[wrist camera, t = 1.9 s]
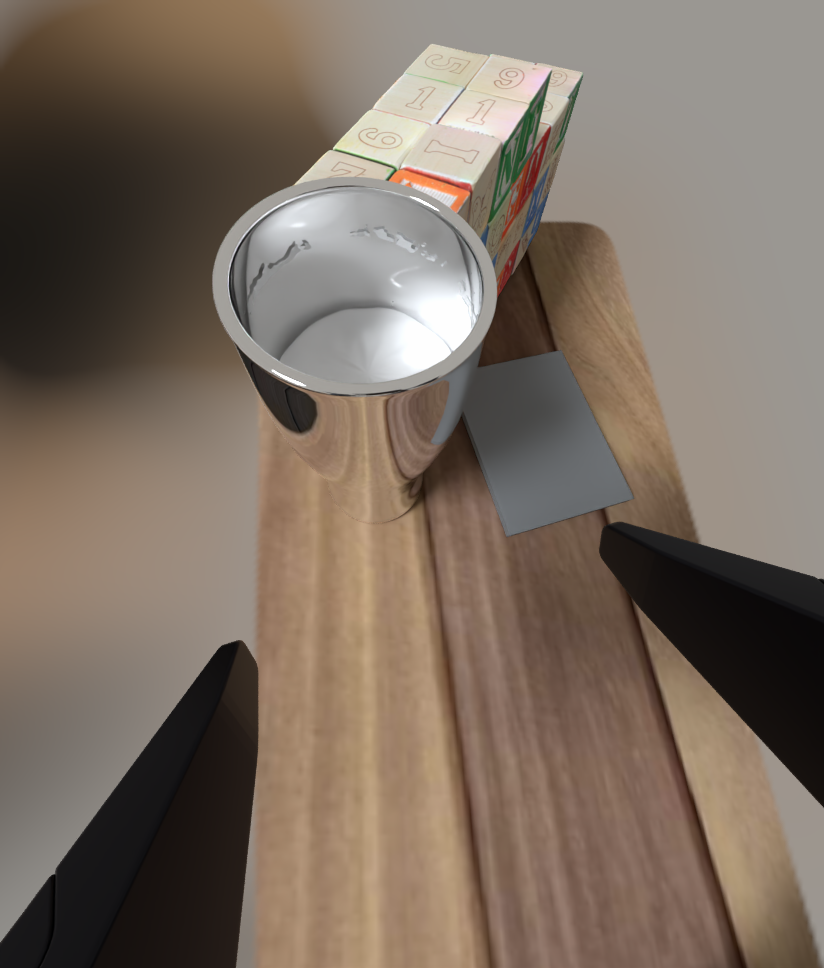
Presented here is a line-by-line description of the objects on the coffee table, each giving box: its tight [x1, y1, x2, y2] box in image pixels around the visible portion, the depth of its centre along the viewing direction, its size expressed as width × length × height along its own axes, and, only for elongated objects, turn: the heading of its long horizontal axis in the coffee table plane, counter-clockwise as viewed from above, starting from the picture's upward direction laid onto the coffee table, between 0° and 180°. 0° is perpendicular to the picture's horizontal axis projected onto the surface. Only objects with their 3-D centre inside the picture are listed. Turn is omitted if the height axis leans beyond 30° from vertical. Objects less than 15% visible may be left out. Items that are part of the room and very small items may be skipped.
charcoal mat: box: [462, 350, 634, 537], centre depth 24 cm, size 12×9×1 cm
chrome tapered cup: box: [212, 177, 497, 523], centre depth 15 cm, size 7×7×15 cm
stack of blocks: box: [293, 44, 583, 298], centre depth 21 cm, size 21×6×12 cm, turn 152°
